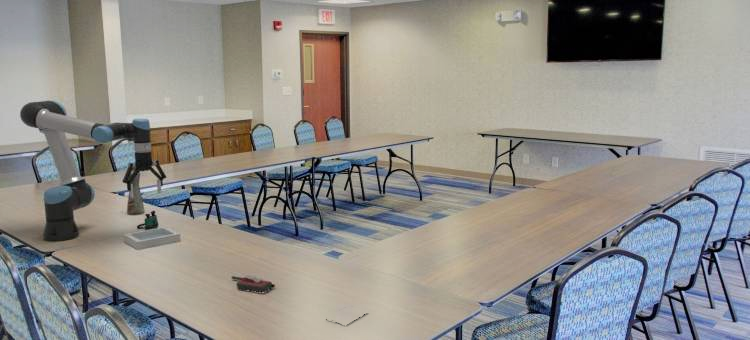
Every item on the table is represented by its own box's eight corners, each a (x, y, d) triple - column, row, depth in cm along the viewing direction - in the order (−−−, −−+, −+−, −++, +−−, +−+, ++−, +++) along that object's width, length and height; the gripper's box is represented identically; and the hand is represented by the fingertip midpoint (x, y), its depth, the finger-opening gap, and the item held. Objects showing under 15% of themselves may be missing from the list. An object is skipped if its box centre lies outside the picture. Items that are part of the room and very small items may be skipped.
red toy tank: (278, 287, 223) (233, 279, 231) (278, 276, 222) (233, 268, 230) (265, 295, 215) (219, 287, 223) (265, 283, 214) (219, 276, 222)
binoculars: (141, 210, 295) (159, 210, 293) (144, 231, 296) (162, 230, 294) (130, 215, 286) (149, 214, 284) (134, 236, 288) (152, 235, 285)
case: (123, 241, 276) (123, 234, 276) (165, 233, 290) (165, 226, 289) (137, 249, 265) (137, 242, 264) (180, 240, 278) (180, 233, 278)
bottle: (141, 215, 324) (138, 164, 319) (124, 215, 324) (121, 164, 319) (147, 211, 333) (144, 161, 328) (131, 211, 333) (128, 161, 328)
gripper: (119, 154, 273) (122, 200, 277) (171, 149, 290) (174, 192, 293) (113, 153, 278) (116, 197, 282) (165, 148, 295) (167, 190, 299)
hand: (145, 195), depth 288 cm, fingers open, 13 cm apart
